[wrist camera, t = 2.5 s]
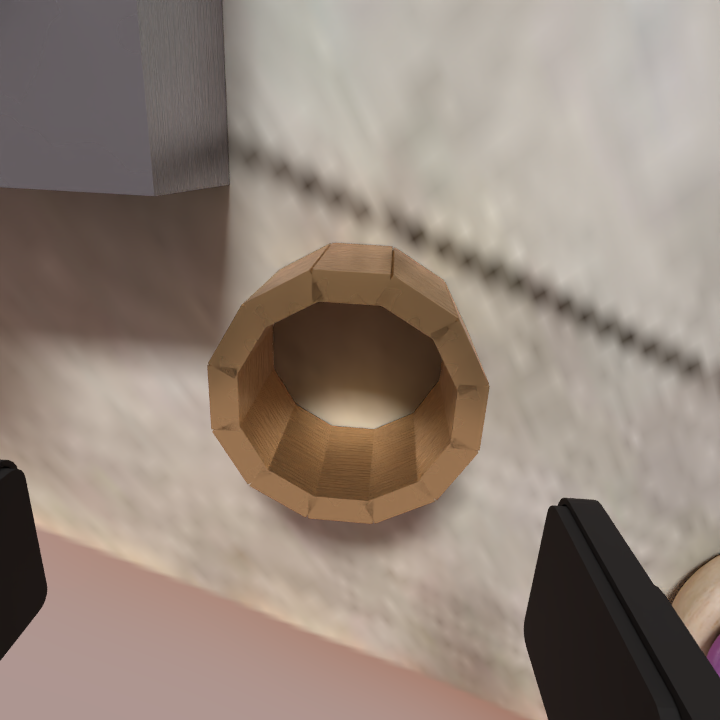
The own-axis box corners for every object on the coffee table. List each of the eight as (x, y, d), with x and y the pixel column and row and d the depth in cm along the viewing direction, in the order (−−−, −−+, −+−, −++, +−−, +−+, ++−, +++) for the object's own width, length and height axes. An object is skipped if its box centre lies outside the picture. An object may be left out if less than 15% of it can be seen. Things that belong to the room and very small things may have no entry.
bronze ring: (480, 251, 15) (505, 281, 12) (452, 454, 18) (466, 532, 14) (247, 237, 16) (200, 262, 12) (253, 438, 18) (216, 510, 14)
